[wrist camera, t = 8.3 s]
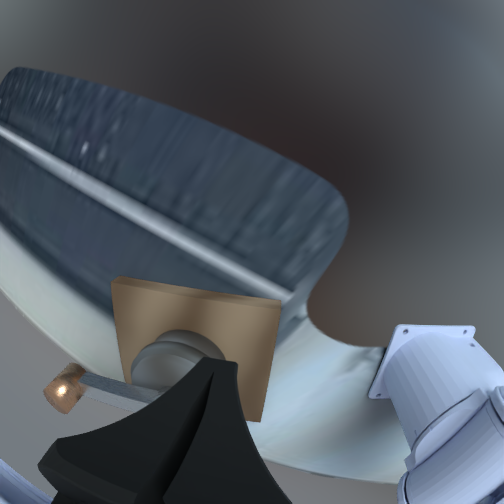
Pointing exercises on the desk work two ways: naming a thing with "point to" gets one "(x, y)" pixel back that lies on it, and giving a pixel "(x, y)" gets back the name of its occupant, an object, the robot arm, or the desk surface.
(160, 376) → the wooden base with cylinder
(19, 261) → the desk surface
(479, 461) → the robot arm
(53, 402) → the hammer
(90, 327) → the desk surface
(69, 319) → the desk surface
